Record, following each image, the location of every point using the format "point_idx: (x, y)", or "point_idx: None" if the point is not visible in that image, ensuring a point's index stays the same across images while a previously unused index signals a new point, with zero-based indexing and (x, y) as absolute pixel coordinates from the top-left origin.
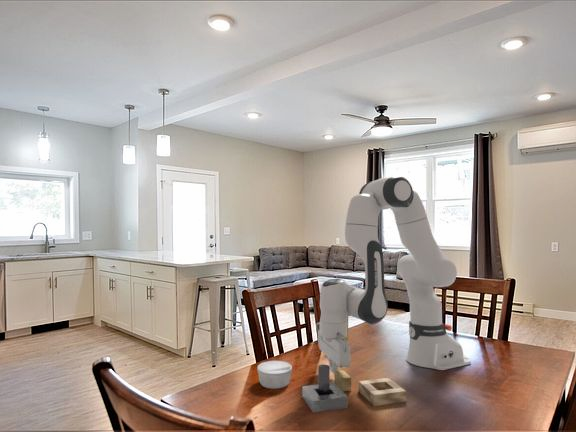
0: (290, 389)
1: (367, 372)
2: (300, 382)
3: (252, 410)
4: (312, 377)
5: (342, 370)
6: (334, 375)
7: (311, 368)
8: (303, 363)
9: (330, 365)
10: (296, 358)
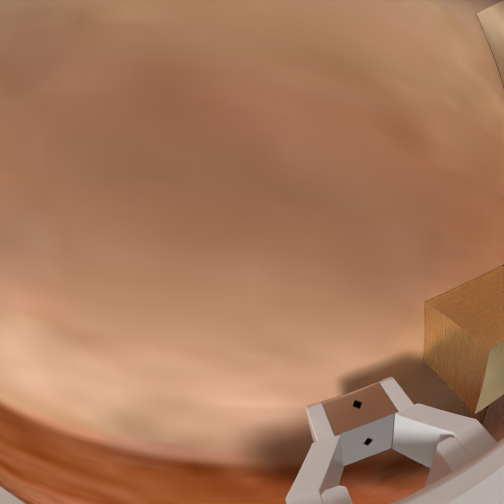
0: (403, 496)
1: (186, 27)
2: None
3: None
4: (290, 473)
5: (491, 355)
6: (456, 394)
7: (132, 470)
8: (69, 477)
9: (343, 467)
10: (23, 476)
